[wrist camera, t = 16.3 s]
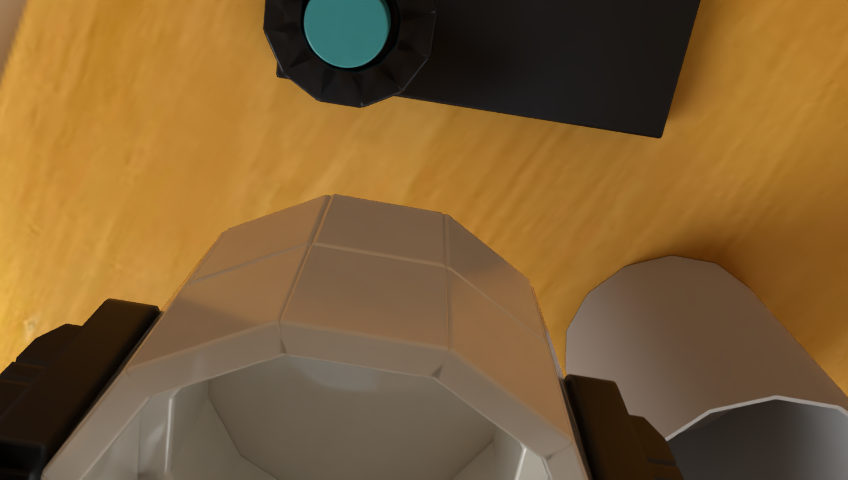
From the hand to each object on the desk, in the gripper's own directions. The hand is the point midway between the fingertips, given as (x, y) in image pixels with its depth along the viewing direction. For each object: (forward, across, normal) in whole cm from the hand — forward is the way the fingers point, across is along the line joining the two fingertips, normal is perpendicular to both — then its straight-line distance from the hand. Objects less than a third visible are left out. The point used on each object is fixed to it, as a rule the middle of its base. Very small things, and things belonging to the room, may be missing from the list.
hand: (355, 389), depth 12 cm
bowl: (+1, 0, 0) cm, 1 cm away
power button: (+15, +2, -4) cm, 16 cm away
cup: (+18, -12, +7) cm, 23 cm away
